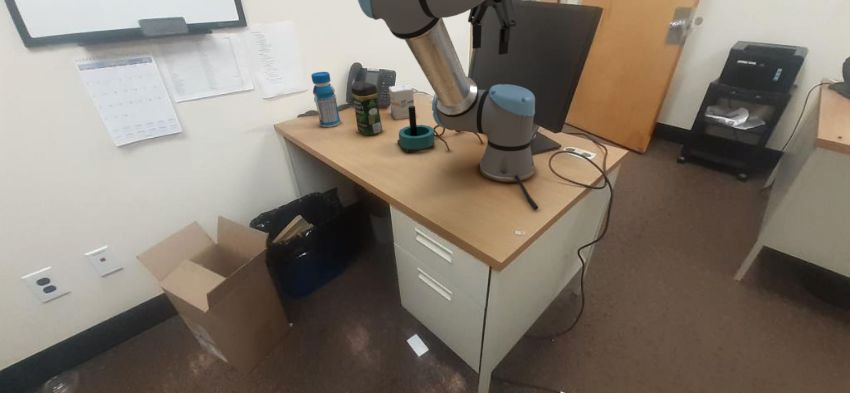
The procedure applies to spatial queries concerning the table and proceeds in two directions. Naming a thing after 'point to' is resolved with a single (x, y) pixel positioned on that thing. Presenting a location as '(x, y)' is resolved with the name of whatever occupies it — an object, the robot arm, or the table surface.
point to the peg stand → (412, 127)
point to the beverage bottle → (325, 99)
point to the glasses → (443, 133)
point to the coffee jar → (366, 108)
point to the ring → (417, 137)
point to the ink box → (401, 100)
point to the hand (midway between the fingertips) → (489, 50)
